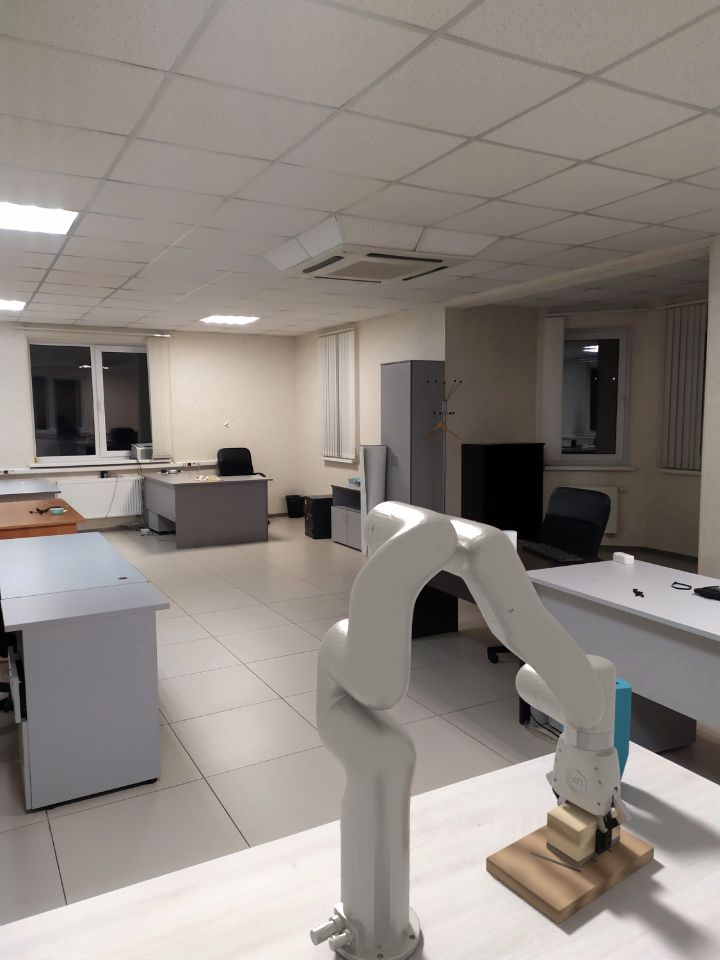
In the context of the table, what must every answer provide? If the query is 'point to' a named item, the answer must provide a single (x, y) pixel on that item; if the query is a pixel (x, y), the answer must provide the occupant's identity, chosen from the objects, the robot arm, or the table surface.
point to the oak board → (565, 872)
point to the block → (622, 722)
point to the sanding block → (574, 833)
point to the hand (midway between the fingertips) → (584, 838)
